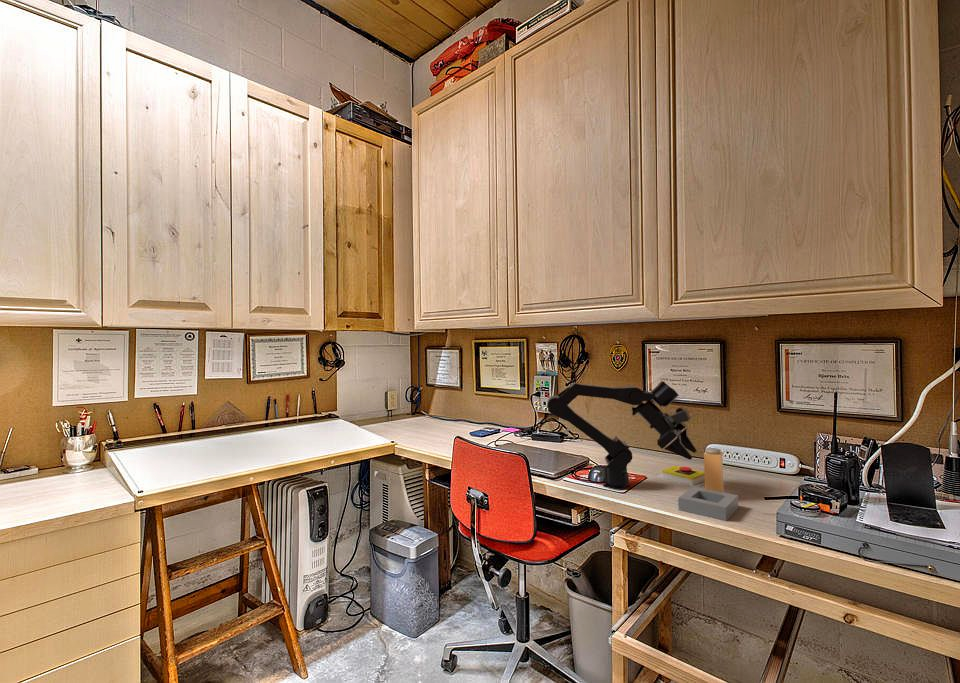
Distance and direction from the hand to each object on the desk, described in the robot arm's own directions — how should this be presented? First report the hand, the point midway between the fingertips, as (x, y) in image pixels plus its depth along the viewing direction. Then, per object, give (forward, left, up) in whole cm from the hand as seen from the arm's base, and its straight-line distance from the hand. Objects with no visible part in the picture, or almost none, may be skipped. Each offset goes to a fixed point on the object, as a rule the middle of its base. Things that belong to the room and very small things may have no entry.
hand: (693, 455), depth 139 cm
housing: (+7, -11, -12) cm, 18 cm away
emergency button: (-8, +12, -12) cm, 19 cm away
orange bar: (+5, +1, -12) cm, 13 cm away
